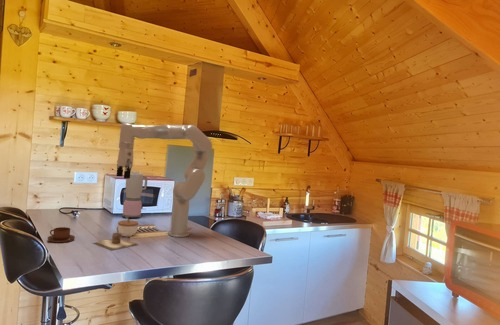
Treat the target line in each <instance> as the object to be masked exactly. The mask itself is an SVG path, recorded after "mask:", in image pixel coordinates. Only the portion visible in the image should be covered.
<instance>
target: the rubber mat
mask: <svg viewBox="0 0 500 325" xmlns="http://www.w3.org/2000/svg"><path fill="white" fill-rule="evenodd" d="M92 244H93V245H94V246H98V247H100V248H103V249H105V250H107V251H111V252H113V251H118V250H123V249H126V248H132V247H137V246H139V244H137V243H136V245H133V246H129V247H124V248H119V249H114V250H111V249H108V248H106V247H103V246H101V245H98V244H95V242H92Z"/></svg>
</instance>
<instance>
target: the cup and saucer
mask: <svg viewBox="0 0 500 325" xmlns="http://www.w3.org/2000/svg"><path fill="white" fill-rule="evenodd" d="M52 232H53V233H52ZM49 235H50V236H48V237H47V240H48V241H49V242H52V243H57V244H58V243H60V244H61V243H68V242H72V241H73V240H75V239H76V237H75V235H72V234H71V228H70V227H67V226H66V227H64V226H63V227H55V228H53V229H51V230H50V231H49Z"/></svg>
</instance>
